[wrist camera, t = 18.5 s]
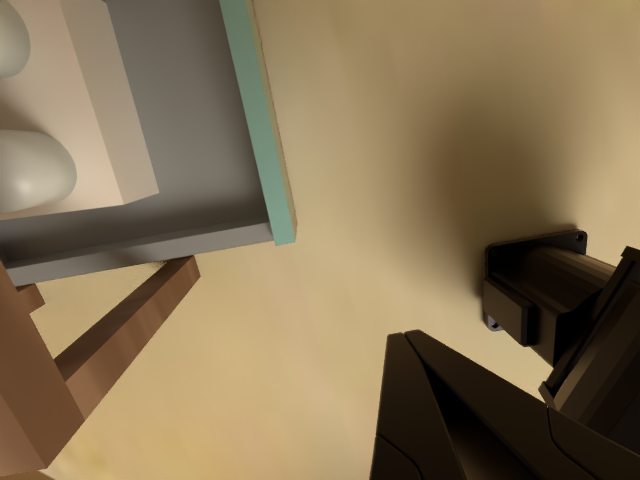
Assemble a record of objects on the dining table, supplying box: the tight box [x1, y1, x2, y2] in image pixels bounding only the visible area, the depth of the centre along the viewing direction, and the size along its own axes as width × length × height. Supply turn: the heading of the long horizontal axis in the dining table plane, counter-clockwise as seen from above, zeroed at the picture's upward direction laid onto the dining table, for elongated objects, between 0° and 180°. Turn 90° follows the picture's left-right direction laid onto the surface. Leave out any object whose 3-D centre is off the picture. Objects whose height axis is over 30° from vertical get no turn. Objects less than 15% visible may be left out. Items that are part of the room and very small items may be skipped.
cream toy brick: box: [0, 0, 159, 220], centre depth 13 cm, size 6×9×6 cm, turn 7°
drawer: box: [0, 0, 297, 286], centre depth 15 cm, size 18×16×4 cm
